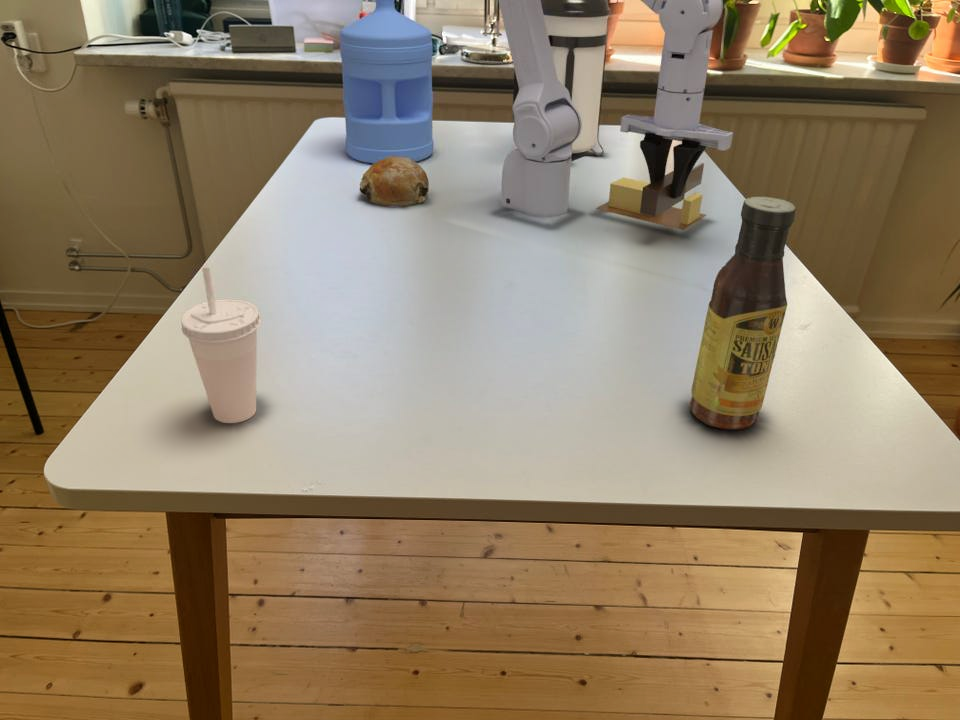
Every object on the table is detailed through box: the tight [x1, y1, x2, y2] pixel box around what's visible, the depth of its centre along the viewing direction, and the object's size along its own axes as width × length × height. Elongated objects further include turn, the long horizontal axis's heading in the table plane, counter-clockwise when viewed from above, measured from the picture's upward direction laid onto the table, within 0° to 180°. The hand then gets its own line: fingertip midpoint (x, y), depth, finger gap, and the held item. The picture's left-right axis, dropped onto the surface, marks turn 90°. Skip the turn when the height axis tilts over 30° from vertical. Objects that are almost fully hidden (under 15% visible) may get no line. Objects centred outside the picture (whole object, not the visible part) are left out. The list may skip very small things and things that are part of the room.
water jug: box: [339, 0, 435, 165], centre depth 140 cm, size 16×16×28 cm
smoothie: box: [180, 265, 262, 424], centre depth 70 cm, size 6×6×14 cm
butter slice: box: [680, 192, 703, 225], centre depth 116 cm, size 1×4×4 cm, turn 144°
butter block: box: [608, 177, 650, 216], centre depth 120 cm, size 7×4×4 cm, turn 54°
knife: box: [640, 162, 705, 217], centre depth 111 cm, size 2×17×4 cm, turn 144°
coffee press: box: [512, 0, 612, 157], centre depth 141 cm, size 17×16×30 cm
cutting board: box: [595, 201, 707, 231], centre depth 120 cm, size 14×8×1 cm, turn 54°
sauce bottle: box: [689, 196, 797, 431], centre depth 69 cm, size 6×6×20 cm
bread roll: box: [359, 156, 430, 207], centre depth 125 cm, size 10×10×8 cm
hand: (666, 194), depth 109 cm, fingers closed on knife, 2 cm apart
